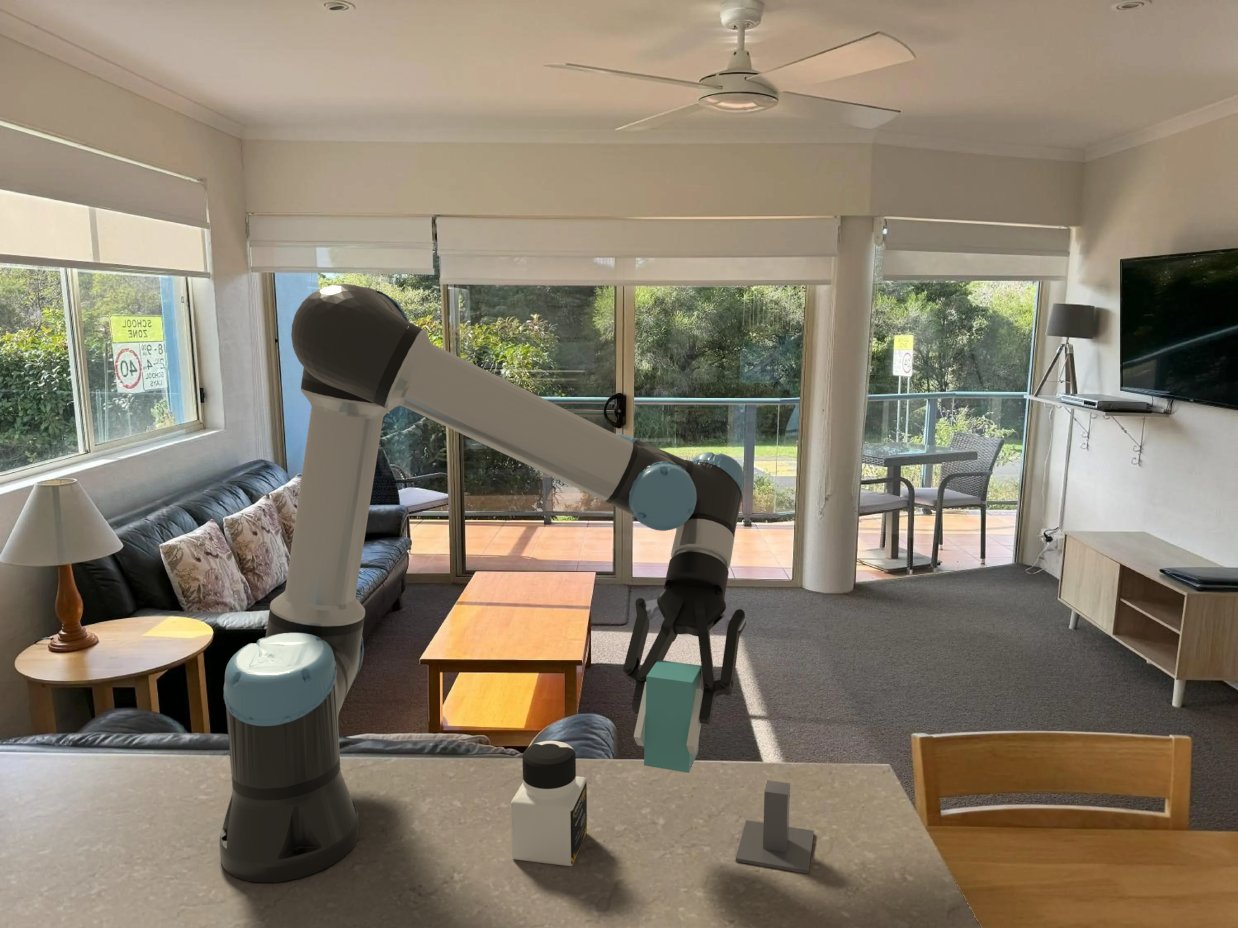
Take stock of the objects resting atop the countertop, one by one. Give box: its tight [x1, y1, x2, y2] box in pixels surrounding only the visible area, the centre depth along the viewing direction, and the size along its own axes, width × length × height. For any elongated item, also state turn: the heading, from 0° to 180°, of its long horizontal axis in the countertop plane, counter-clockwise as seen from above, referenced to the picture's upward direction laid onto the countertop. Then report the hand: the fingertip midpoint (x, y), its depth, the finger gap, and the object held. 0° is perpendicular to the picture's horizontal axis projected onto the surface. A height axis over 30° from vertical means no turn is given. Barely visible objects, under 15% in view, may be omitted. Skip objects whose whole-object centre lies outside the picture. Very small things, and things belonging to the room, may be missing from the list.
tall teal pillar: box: [643, 660, 702, 773], centre depth 101 cm, size 5×5×11 cm
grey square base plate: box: [735, 779, 815, 874], centre depth 101 cm, size 8×8×7 cm
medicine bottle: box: [510, 740, 588, 867], centre depth 101 cm, size 7×7×12 cm
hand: (664, 745), depth 98 cm, fingers closed on tall teal pillar, 5 cm apart
